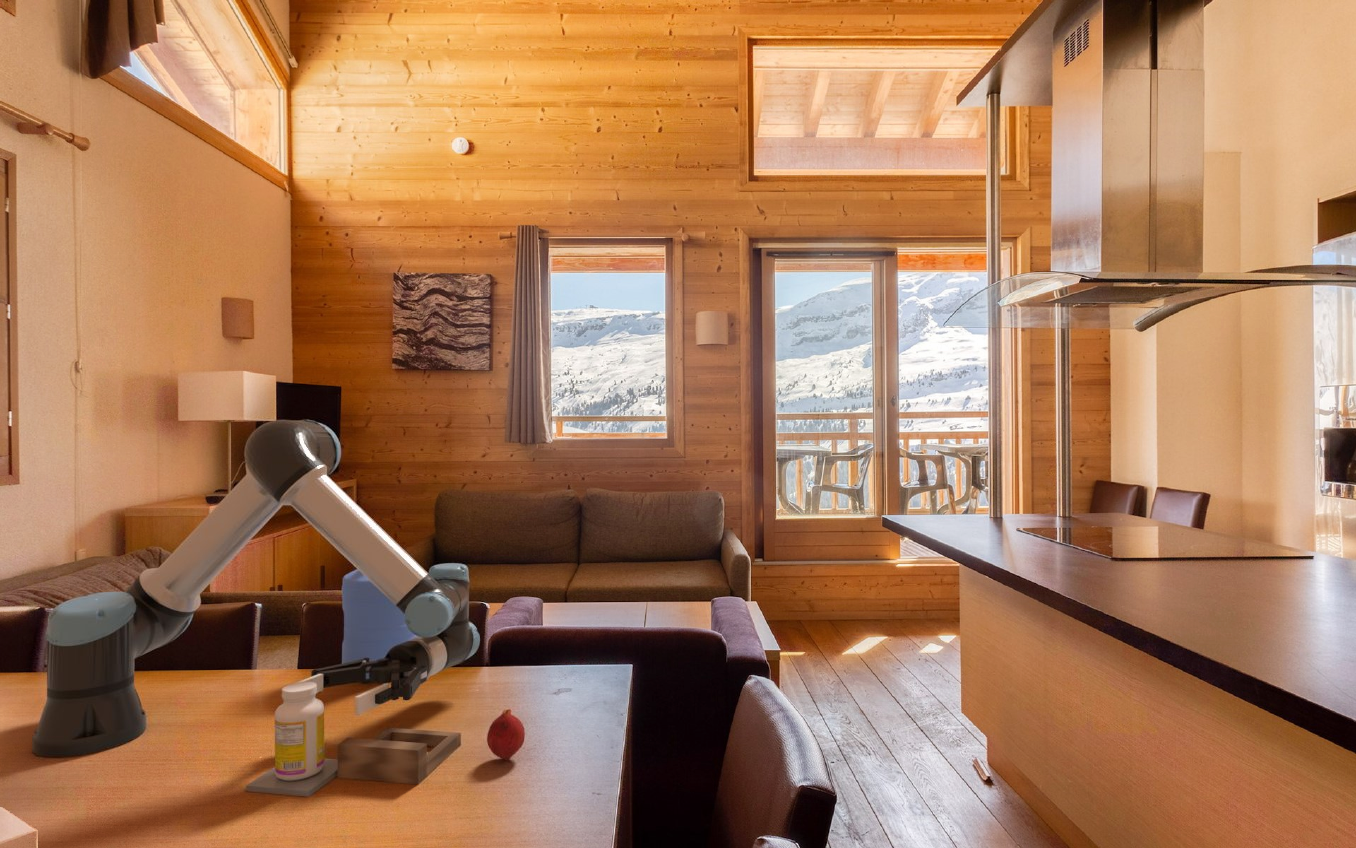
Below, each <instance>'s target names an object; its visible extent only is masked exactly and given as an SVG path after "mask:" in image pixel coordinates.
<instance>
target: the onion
mask: <svg viewBox="0 0 1356 848" xmlns="http://www.w3.org/2000/svg"><path fill="white" fill-rule="evenodd" d="M525 735H526V731H525V726H524V724H523V722H522V721H521V720H520V719H519V718H518V717H516V716H515V715H513V714H512V709H510V708H509V707H506V708H505V709H503V711H502V713H501V714H500V716H498V717H496V718H495V719H494V720H493V721H492V722H491V724H490V726H489V728H488V731H487V736H486V742H487V746H488V747H489V749H490V752H491V753H492V754H494V755H495V756H496V757H498V758H500V759H502V760H503V761H508V760H510V759H511V758H512V757H513V756H514V755H515V754H516V753H518V751H520V749H522V747H523V744H524V743H525V738H526V736H525Z"/></svg>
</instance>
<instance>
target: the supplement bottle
mask: <svg viewBox="0 0 1356 848" xmlns="http://www.w3.org/2000/svg"><path fill="white" fill-rule="evenodd" d="M297 682H298V683H297ZM297 682H293V683H290V684H287V685H285V686H283V687H282V688H281V698H282V701H283V703H281V704H280V705H279V706H278V707H277V708H276V710H275V711H274V767H275V774H276V776H277V777H278V778H279V779H282V780H286V781H294V780H301V779H304V778H308V777H310V776H313V775H315V774H317V773H318V772H320V771H321V770H322V768H323V767H324V758H325V704H324V702H323V701H322V700H320V699H319V698H316V696H317V695H316V694H317V693H316V692H317V684H316V683H314V682H299V681H297Z"/></svg>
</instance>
